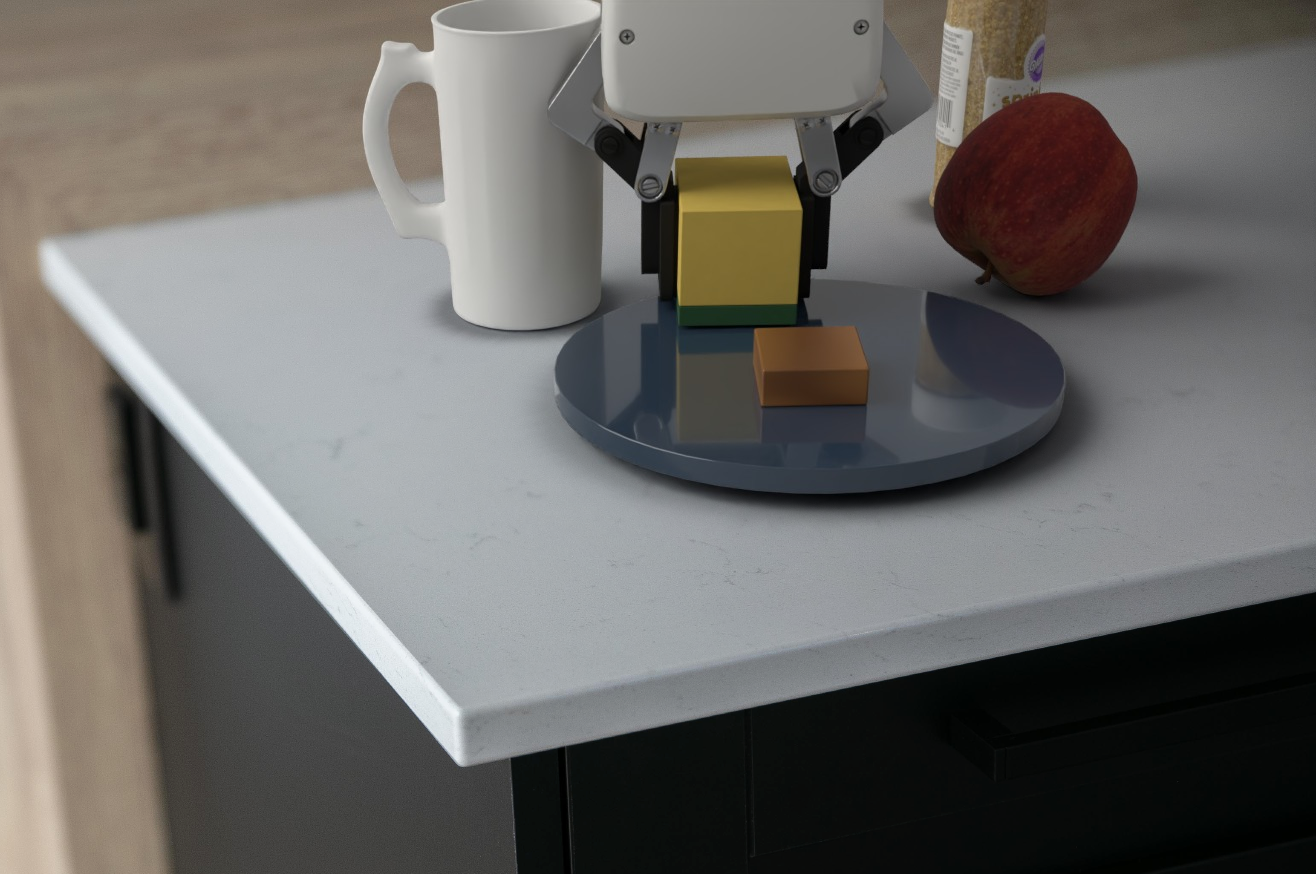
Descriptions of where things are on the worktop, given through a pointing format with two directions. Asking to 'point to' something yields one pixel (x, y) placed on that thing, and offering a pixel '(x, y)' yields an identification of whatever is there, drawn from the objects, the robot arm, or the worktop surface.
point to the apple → (1038, 194)
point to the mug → (500, 161)
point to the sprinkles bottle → (985, 66)
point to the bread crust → (810, 366)
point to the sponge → (737, 241)
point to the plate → (814, 437)
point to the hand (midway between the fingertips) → (732, 283)
